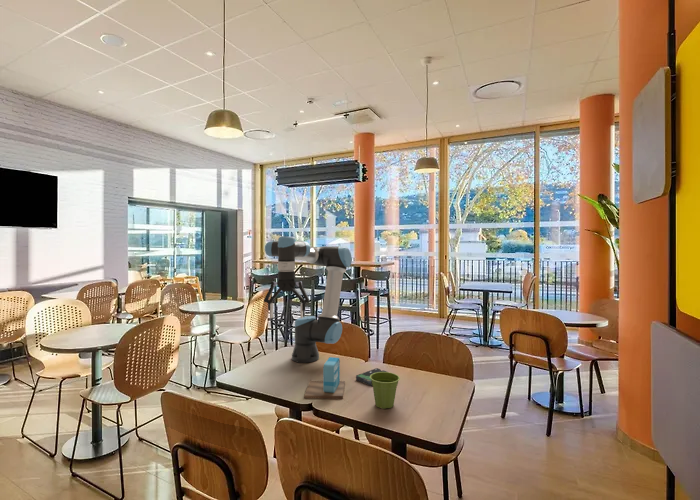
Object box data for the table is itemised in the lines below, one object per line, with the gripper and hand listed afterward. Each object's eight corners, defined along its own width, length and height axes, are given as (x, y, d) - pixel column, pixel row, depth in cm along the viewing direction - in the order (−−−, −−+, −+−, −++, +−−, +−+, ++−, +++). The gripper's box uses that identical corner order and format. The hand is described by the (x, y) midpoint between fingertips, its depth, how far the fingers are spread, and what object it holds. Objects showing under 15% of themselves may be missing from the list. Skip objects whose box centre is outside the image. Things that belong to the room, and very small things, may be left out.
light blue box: (333, 394, 149) (333, 365, 149) (323, 393, 150) (323, 365, 150) (339, 383, 161) (339, 356, 160) (330, 382, 162) (329, 356, 161)
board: (310, 383, 164) (310, 380, 164) (344, 383, 163) (344, 381, 163) (304, 398, 148) (304, 395, 148) (342, 398, 147) (342, 395, 147)
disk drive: (376, 373, 178) (355, 381, 168) (376, 367, 178) (355, 375, 168) (392, 379, 171) (371, 387, 160) (392, 373, 171) (371, 381, 160)
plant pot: (399, 413, 135) (399, 383, 135) (368, 410, 137) (368, 381, 136) (400, 399, 146) (400, 372, 146) (371, 397, 148) (371, 370, 148)
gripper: (256, 271, 157) (257, 319, 158) (312, 271, 156) (313, 319, 157) (261, 270, 165) (261, 315, 165) (315, 270, 164) (315, 316, 164)
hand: (286, 317), depth 161 cm, fingers open, 13 cm apart
